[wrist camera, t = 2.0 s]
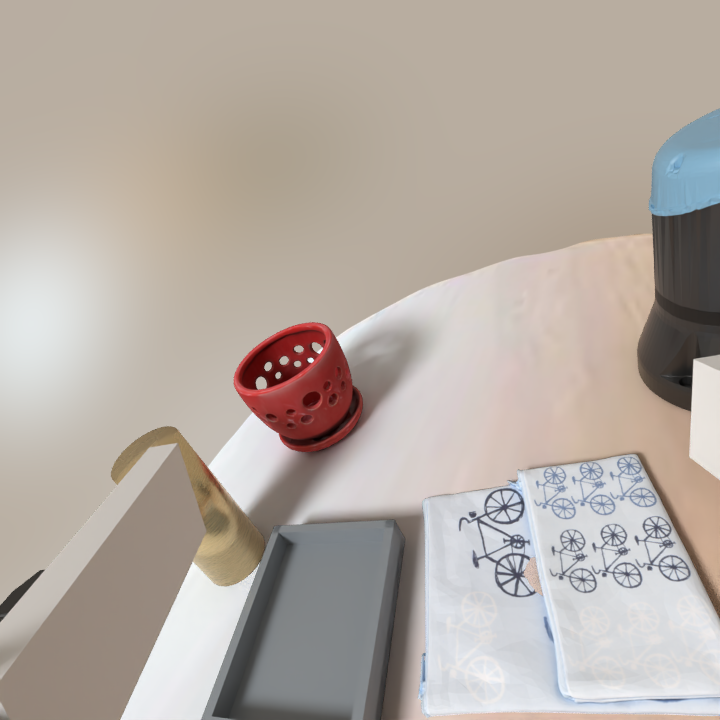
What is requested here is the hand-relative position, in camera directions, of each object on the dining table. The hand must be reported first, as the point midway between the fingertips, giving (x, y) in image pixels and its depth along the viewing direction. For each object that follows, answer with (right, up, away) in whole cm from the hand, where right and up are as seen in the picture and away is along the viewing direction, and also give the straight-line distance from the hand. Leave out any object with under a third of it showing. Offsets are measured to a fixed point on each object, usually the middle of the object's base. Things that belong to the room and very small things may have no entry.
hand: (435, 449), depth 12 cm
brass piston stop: (-15, -18, +38) cm, 44 cm away
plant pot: (-7, -6, +50) cm, 51 cm away
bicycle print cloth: (+13, -15, +25) cm, 32 cm away
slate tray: (-5, -20, +28) cm, 35 cm away
